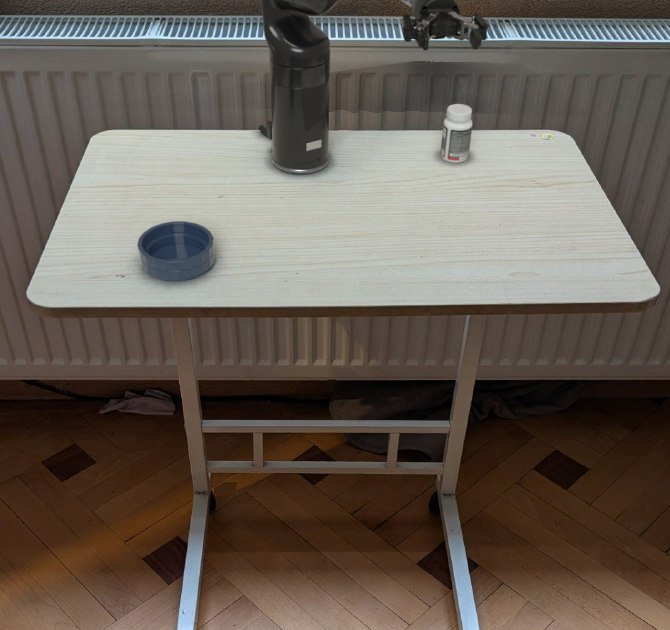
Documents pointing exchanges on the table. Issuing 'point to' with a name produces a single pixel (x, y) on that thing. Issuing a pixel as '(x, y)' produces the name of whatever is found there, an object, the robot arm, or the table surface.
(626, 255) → the table surface
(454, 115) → the pill bottle
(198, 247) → the dish
